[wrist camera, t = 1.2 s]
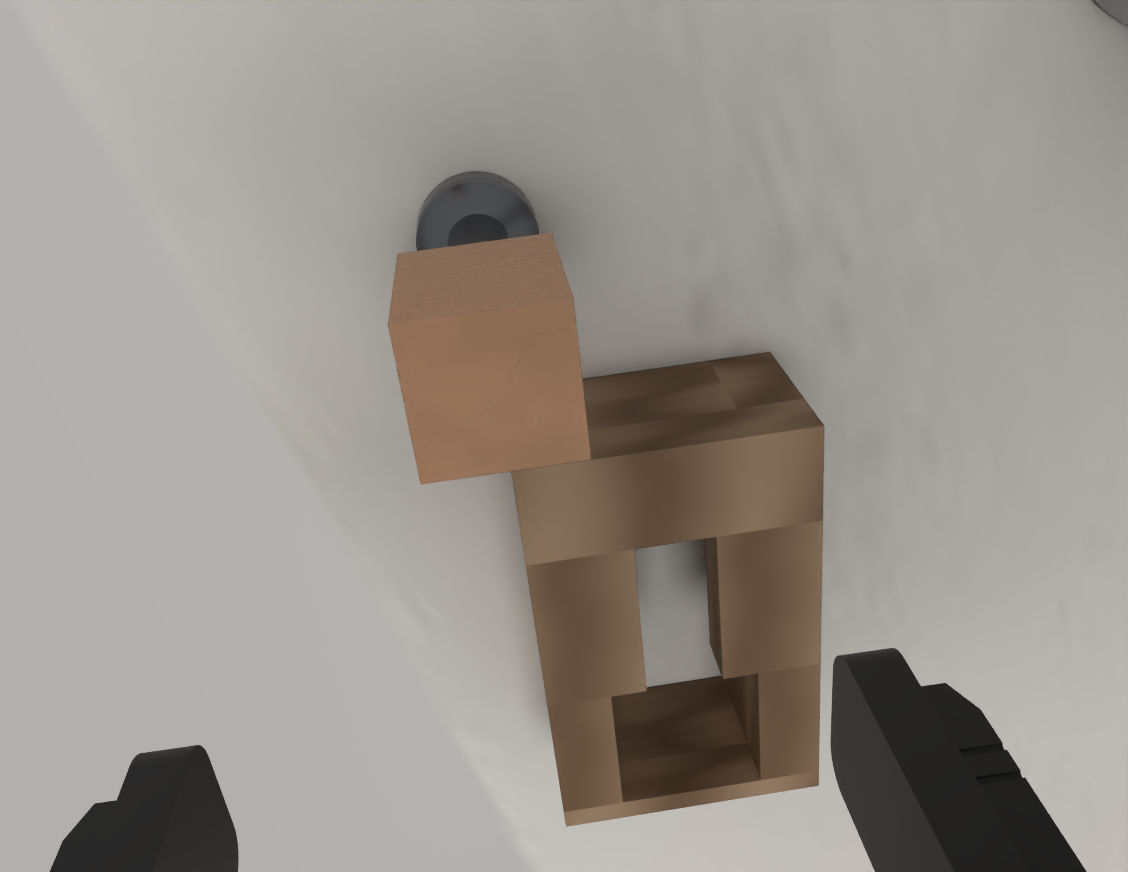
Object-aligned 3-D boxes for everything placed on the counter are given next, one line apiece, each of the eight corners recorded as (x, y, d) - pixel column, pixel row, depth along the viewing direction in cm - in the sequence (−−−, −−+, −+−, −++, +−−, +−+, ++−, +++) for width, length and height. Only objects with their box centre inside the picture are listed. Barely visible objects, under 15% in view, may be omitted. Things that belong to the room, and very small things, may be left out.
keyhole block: (770, 352, 37) (824, 425, 32) (774, 681, 45) (818, 785, 39) (501, 391, 37) (511, 471, 31) (551, 717, 44) (566, 826, 39)
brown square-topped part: (528, 163, 33) (573, 298, 22) (542, 279, 35) (590, 459, 24) (407, 179, 33) (388, 324, 21) (428, 295, 35) (420, 484, 23)
